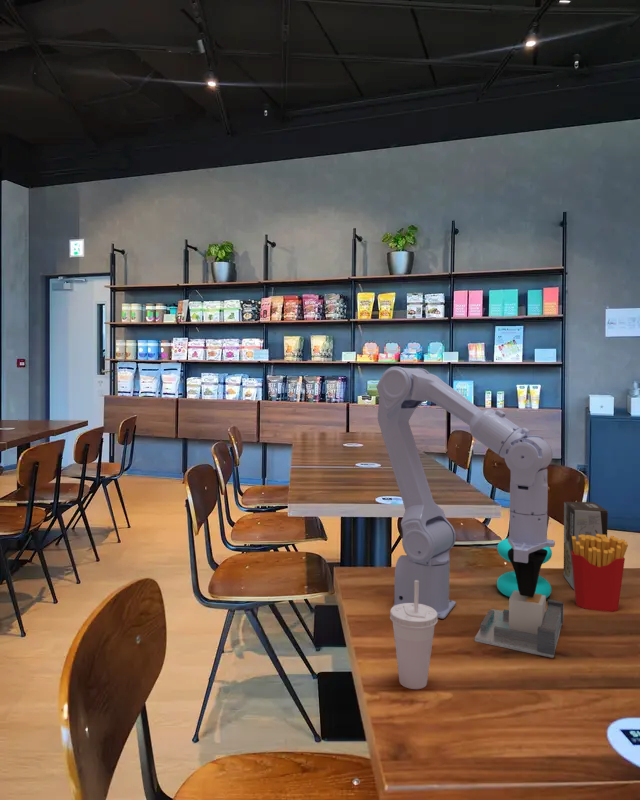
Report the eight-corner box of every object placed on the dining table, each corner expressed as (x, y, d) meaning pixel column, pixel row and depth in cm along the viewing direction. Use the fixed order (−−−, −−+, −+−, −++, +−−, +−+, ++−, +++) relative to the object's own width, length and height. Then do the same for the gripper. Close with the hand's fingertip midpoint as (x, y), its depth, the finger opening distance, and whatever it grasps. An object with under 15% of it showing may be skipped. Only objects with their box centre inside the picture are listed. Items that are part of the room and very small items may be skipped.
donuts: (560, 550, 104) (505, 549, 105) (559, 604, 105) (504, 603, 105) (541, 536, 114) (491, 535, 115) (540, 585, 115) (490, 584, 115)
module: (508, 633, 91) (509, 597, 91) (513, 622, 95) (514, 588, 95) (541, 639, 88) (542, 603, 88) (545, 629, 92) (545, 594, 92)
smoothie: (407, 699, 72) (409, 591, 72) (380, 676, 78) (381, 576, 78) (447, 687, 75) (448, 583, 75) (417, 666, 81) (418, 569, 81)
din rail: (474, 641, 89) (474, 616, 89) (492, 611, 101) (492, 589, 101) (554, 659, 83) (554, 632, 83) (563, 625, 95) (563, 601, 95)
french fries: (572, 607, 103) (573, 536, 103) (569, 599, 107) (570, 531, 107) (628, 613, 100) (629, 541, 100) (623, 604, 104) (624, 535, 104)
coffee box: (607, 592, 111) (609, 510, 110) (572, 590, 112) (573, 509, 111) (594, 577, 119) (596, 501, 119) (562, 575, 121) (563, 500, 120)
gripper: (549, 523, 83) (548, 615, 83) (559, 505, 96) (558, 585, 96) (500, 518, 86) (498, 606, 86) (516, 501, 99) (515, 578, 99)
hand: (527, 594), depth 91 cm, fingers closed
